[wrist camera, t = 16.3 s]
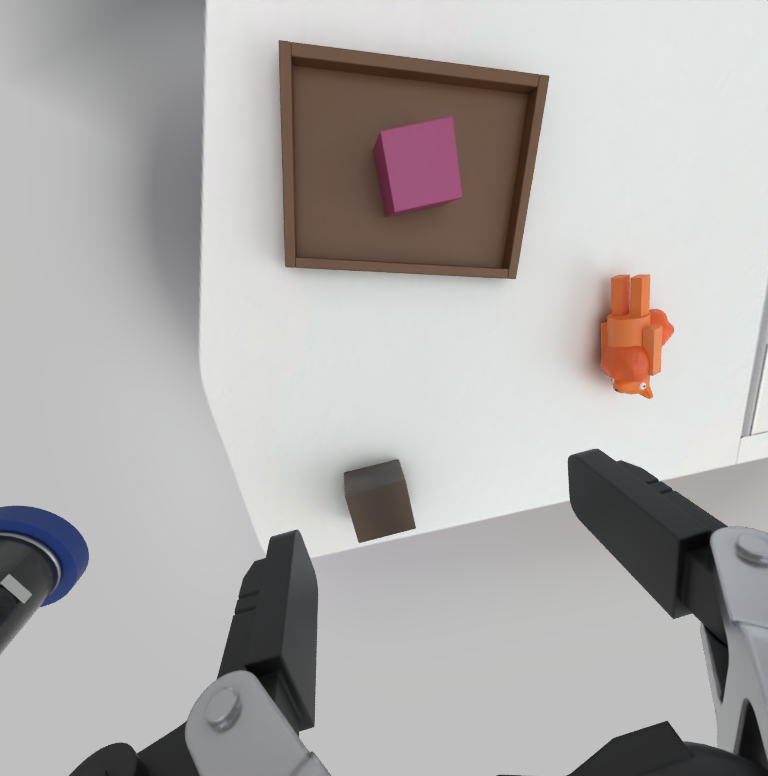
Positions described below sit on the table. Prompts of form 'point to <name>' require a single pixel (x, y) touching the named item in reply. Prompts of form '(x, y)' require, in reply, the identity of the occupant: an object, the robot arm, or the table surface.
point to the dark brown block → (378, 501)
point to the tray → (359, 174)
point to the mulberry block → (418, 166)
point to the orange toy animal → (633, 336)
